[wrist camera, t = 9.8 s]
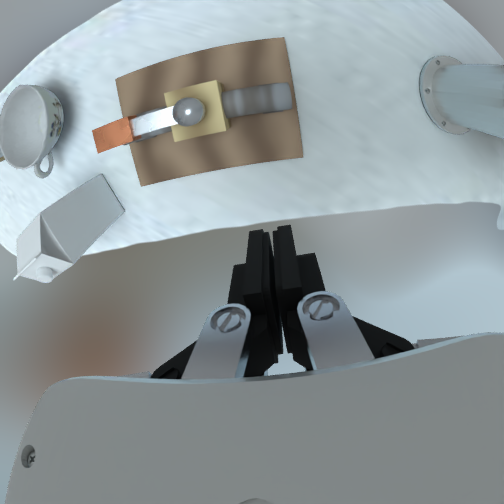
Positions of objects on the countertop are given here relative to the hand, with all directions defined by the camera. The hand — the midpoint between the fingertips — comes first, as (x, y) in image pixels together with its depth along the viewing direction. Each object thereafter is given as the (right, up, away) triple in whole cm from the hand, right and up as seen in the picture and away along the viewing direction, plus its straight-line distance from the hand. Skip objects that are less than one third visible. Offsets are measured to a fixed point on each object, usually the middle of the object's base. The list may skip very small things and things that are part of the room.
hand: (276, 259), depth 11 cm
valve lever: (-11, +13, +13) cm, 22 cm away
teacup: (-32, +20, +19) cm, 43 cm away
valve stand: (-7, +18, +20) cm, 28 cm away
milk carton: (-25, +8, +26) cm, 37 cm away
